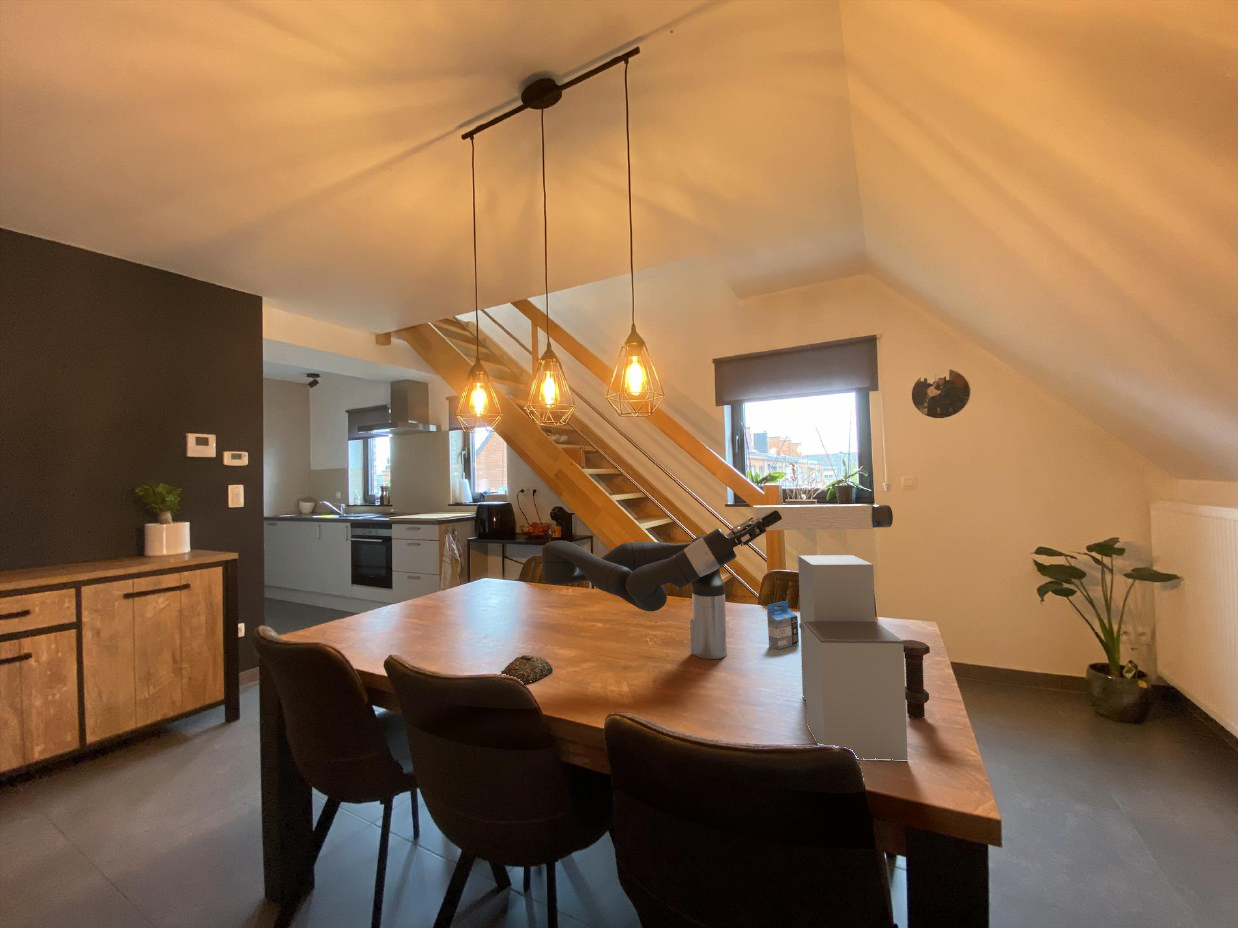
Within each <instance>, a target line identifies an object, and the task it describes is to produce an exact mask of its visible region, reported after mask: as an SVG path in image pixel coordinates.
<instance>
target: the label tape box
mask: <svg viewBox="0 0 1238 928" xmlns="http://www.w3.org/2000/svg"><path fill="white" fill-rule="evenodd" d="M766 607H767V611H766V612H767V613H766V616H767V630H768V631H767V633H768V634H767V635H768V646H769V647H770V648H773V649H775V650H782V649H785V648H788V647H791V646H795V645H799V643H800V641H799V640H800V638H799V620H798V618H799V617H798V615H797V614H795V613H794V612H793V611H792V610H791V609H790V608H789V600H784V601H779V602H774V603H770V604H767V606H766ZM777 607H778V608H777Z"/></svg>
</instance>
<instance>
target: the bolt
mask: <svg viewBox="0 0 1238 928" xmlns="http://www.w3.org/2000/svg"><path fill="white" fill-rule="evenodd" d="M901 640H902V641H903V643H904V667H905V699H906V715H908V717H910V718H913V719H915V720H919V719H923V718H925V717H926V715H925V711H926V710H925V704H927V702H928V701H929V700H930V693H929V692H928V691H927V690H926V689H925V687H924V685H925V684H924V656H925V655H928V654H930V652H931V649H930V646H929V645H928V644H926V643H925V642H923V641H919V640H915V639H901Z"/></svg>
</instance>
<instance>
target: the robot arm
mask: <svg viewBox="0 0 1238 928" xmlns="http://www.w3.org/2000/svg"><path fill="white" fill-rule="evenodd" d="M781 519H782V517H781V515H780V513H779V512H778V511H773V512H772V513H770V514H768V515H767V516H765V517H763V518H762V519H758V520H757V521H755V522H753V517H750V518H749V519H747V520H744V521H743V522H741V523H739V524H738V525H735V526H733V527H731V528H730V532H729V533H726V535H725V533H724V532H723V531H722V529H720V528H715V529H714V530H712V531H711V532H709V533H708V534H705V535H698V536H696V537H695V538H694V539H692V541H691V542H688V543H687V542H685V543H670V542H669V543H668V542H660V541H659V542H658V541H635V542H634V541H633V542H623V543H621V544H619V545H617V546H616V547H614V548H612V549H610V551H608V552H607V553H606V554H605V555H603V556H602V557H599V556H597V555H595V554H594V553H592V552H590V551H588V550H586V549H584V548H583V547H581V546H579V545H577V544H575V543H573V542H570V541H567V540H551V541H548V542H546V543H544V545H543V546H542V550H541V567H542V568H541V569H542V579H543V581H544V582H545V584H549V585H554V586H556V585H560V586H561V585H568V584H574V583H580V582H587V581H588V582H590V584H591V585H593V586H594V587H595V588H596V589H598V590H600V591H602V592H605V593H608V594H610V595H614V596H616V597H619V598H621V599H622V600H624V601H625V602H627V603H629V604H631V605H632V606H634V607H636V608H638V609H640V610H642V611H644V612H651V613H652V612H656V611H659V610H661V609H662V608H663V607H664V606H665V604H667V600H668V594H667V593H668V592H667V589H666V588H665V586H664V585H667V584H671V585H674V586H675V587H677V588H680V589H681V588H684V587H686V586H687V585H691V594H692V595H691V596H692V597H691V599H692V618H691V619H690V620H689V623H690V624H689V626H690V627H689V632H690V635H689V636H690V654H691V655H694V656H696V657H698V658H701V659H706V660H718V659H722V658H724V657H726V656H727V653H728V652H727V650H728V646H727V618H726V617H727V616H726V615H727V614H726V585H725V582H724V580H723V578H722V576H721V572H720V571H721V570H720V569H722V568H723V567H724V566H725V565H726V564H728V563H730V562H731V561H733V560H734V559H736V558H737V554H736V552H735V550H734V548H736V547H738V546H741V547H743V546H747V545H749V544H750V543H752V542H753V541H754V540H755V539H757V538H758V537H760V536H762V535H764V534H765V533H766V532H767V531H768V530H767V529H768V528H767V527H769V526H771V525H773V524H775V523H776V522H778V521H780V520H781ZM756 526H757V527H758V529H759V530H756V529H755V527H756Z"/></svg>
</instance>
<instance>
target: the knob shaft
mask: <svg viewBox="0 0 1238 928" xmlns="http://www.w3.org/2000/svg"><path fill="white" fill-rule="evenodd" d="M773 511H778V512H779V513H780V515H781V517H782V519H781V520H780V521H778V522H776V523H775V524H773V525H771V526H769V527H767V528H768V529H767V530H766V531H786V530H787V531H799V530H800V531H801V530H802V531H806V530H807V531H808V530H810V531H811V530H812V531H813V530H814V531H815V530H817V531H818V530H822V531H823V530H873V529H874V528H876V529H877V528H878V529H879V528H884V529H886V528H891V527H892V526H893V521H894V515H893V511H892V508H891V506H890V505H889V504H873V505H872V504H866V503H863V504H861V503H859V504H858V503H857V504H855V503H853V504H851V503H850V504H796V505H795V504H794V505H793V504H792V505H791V504H790V505H788V504H787V505H782V504H781V505H780V504H779V505H778V504H777V505H752V518H753V522H755V521H757V520H758V519H762V518H763V517H765V516H767V515H768V514H770V513H772V512H773ZM755 529H756V530H759V529H758V527H757V526H756V527H755Z"/></svg>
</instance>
